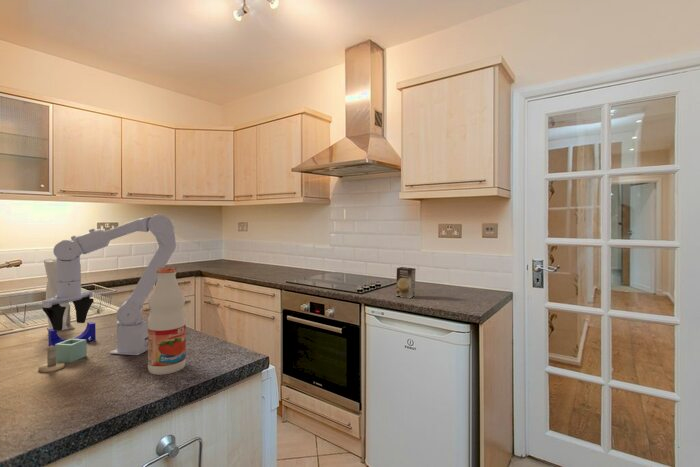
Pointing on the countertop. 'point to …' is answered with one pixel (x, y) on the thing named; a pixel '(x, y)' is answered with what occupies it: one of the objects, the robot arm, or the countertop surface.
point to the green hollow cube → (70, 350)
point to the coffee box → (405, 282)
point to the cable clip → (88, 332)
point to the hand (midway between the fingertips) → (69, 326)
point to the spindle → (51, 361)
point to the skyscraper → (52, 291)
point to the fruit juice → (166, 325)
